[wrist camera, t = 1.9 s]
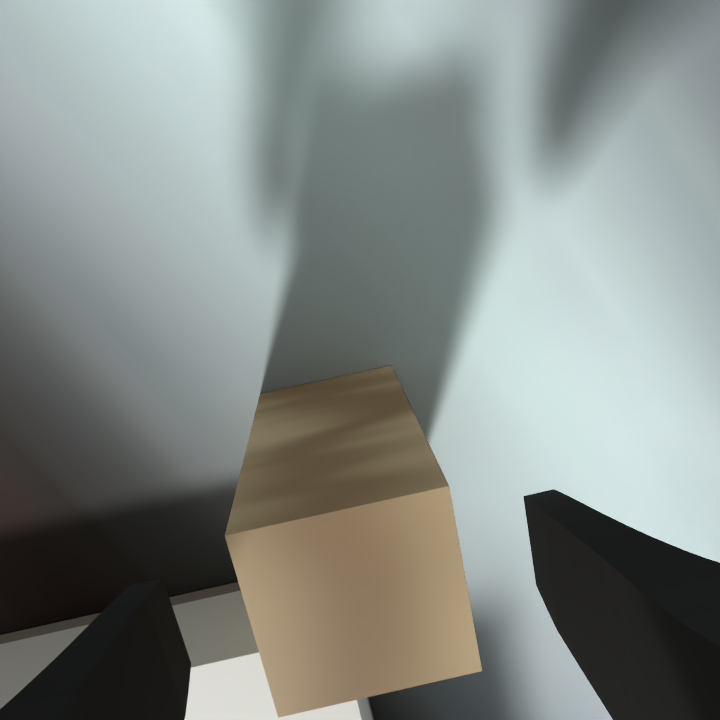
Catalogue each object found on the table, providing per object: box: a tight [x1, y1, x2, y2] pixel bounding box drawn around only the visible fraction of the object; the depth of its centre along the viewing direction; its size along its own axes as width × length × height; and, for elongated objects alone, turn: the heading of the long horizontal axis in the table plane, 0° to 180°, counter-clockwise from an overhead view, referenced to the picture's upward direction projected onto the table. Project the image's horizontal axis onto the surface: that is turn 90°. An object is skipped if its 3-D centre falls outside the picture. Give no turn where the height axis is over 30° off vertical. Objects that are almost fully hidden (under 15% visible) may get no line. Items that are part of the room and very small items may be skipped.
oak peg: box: [225, 365, 482, 718], centre depth 15 cm, size 4×4×8 cm
